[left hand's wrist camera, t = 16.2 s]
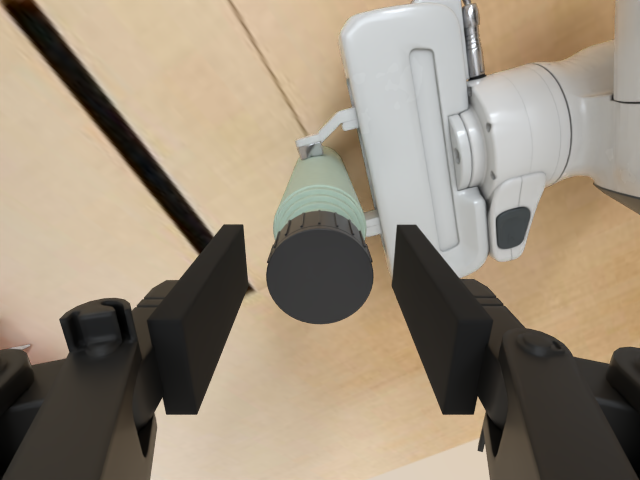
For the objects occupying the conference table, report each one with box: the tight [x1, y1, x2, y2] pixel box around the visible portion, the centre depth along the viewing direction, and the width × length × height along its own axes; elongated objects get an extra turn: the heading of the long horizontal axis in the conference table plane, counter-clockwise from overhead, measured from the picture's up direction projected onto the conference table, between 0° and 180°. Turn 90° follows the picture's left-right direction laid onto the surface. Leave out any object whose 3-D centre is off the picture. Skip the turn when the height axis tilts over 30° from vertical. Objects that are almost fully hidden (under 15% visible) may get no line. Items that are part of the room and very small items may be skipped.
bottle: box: [273, 146, 367, 241], centre depth 23 cm, size 4×4×21 cm
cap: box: [266, 210, 373, 324], centre depth 13 cm, size 4×4×2 cm
